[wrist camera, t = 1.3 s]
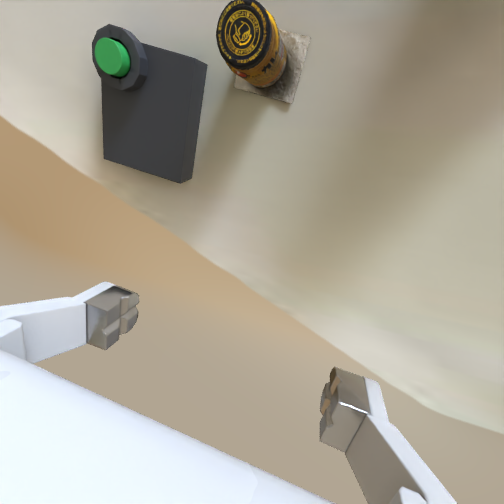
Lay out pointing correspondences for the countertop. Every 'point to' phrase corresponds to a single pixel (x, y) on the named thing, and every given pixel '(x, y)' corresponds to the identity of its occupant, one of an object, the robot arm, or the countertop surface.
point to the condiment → (260, 50)
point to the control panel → (151, 108)
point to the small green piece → (112, 57)
